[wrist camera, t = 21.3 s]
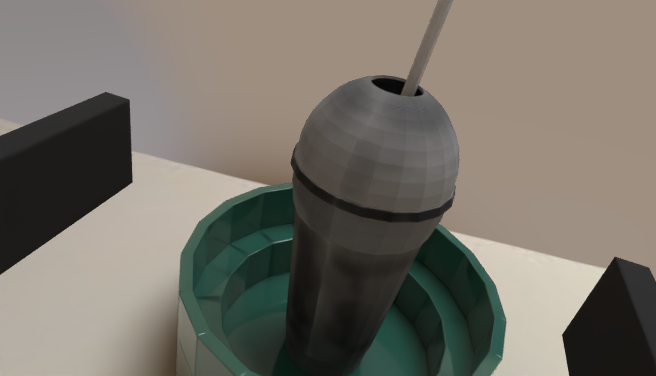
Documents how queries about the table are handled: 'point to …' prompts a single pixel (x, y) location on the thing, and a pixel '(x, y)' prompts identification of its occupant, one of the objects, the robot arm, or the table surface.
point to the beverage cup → (364, 208)
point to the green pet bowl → (272, 294)
